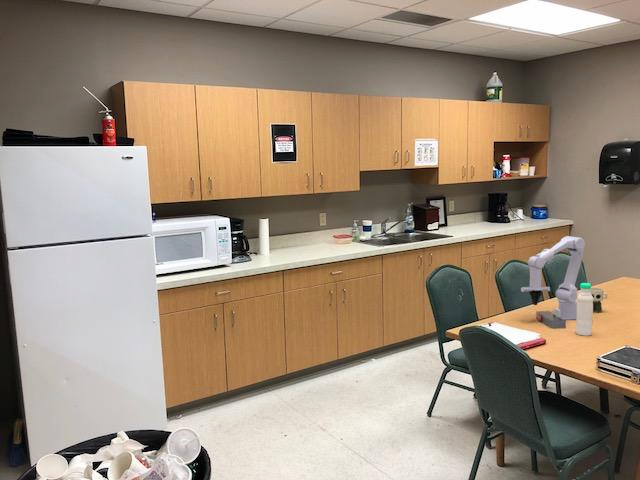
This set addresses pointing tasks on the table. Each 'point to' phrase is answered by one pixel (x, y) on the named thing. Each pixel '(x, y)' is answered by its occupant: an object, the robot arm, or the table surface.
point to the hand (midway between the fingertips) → (535, 304)
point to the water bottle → (584, 310)
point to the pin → (539, 317)
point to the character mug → (597, 298)
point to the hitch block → (551, 319)
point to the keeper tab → (557, 312)
